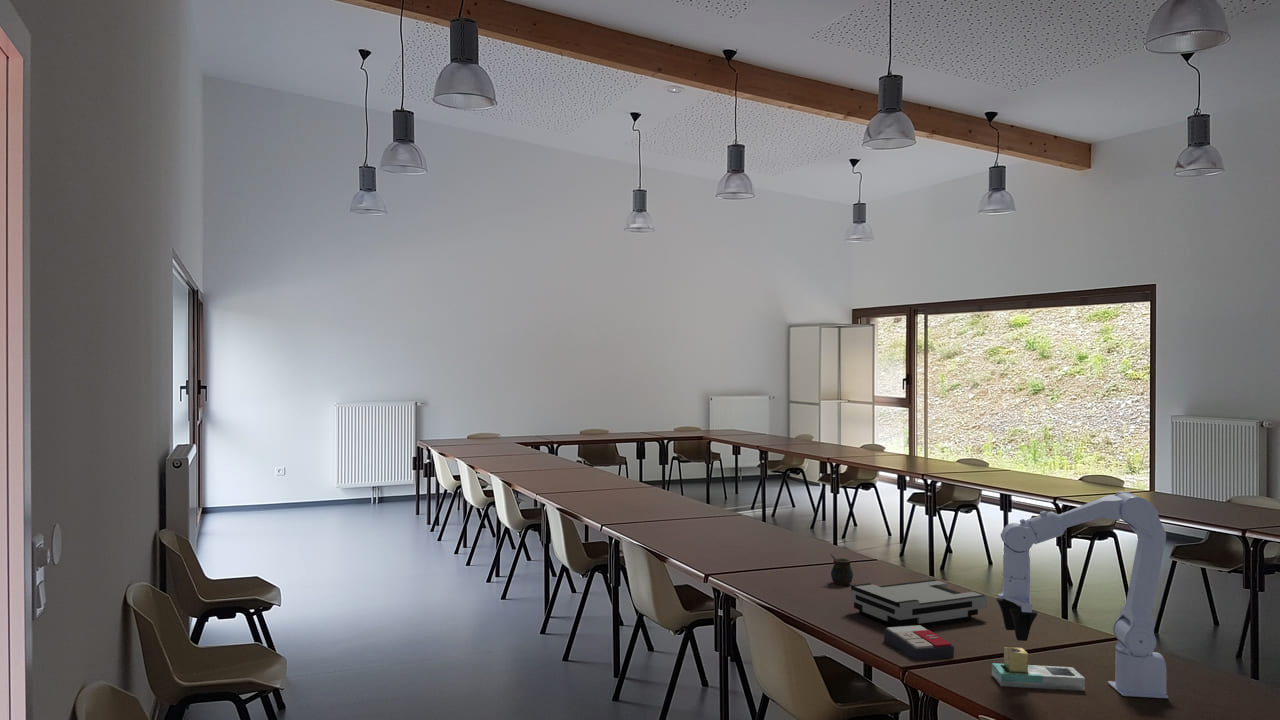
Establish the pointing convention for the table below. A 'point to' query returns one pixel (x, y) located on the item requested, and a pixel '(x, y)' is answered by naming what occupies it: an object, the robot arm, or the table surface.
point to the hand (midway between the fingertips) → (1016, 634)
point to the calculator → (918, 642)
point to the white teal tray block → (1040, 677)
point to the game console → (916, 603)
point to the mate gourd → (841, 571)
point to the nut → (1015, 660)
